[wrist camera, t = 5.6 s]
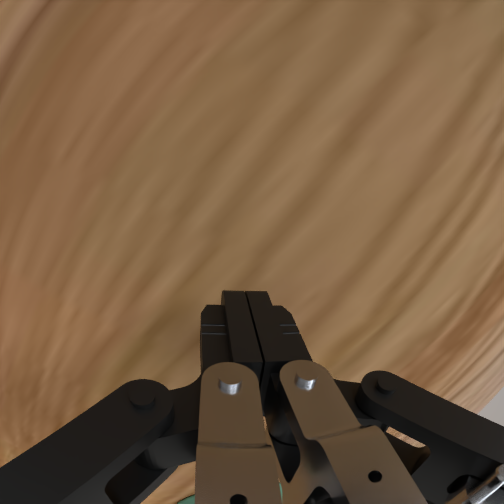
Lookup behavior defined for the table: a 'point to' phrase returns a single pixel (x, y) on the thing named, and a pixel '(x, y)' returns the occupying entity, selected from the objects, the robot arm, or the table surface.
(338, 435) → the robot arm
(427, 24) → the table surface
